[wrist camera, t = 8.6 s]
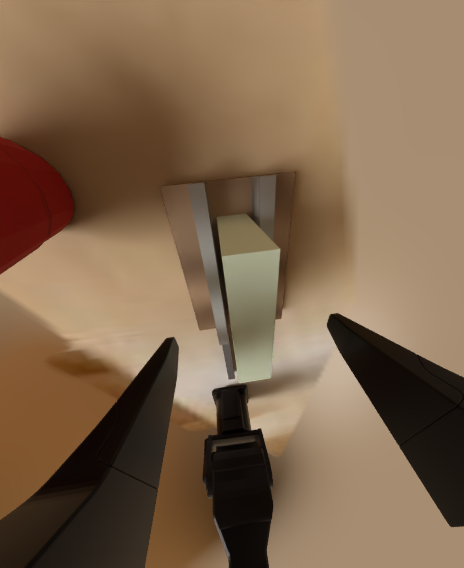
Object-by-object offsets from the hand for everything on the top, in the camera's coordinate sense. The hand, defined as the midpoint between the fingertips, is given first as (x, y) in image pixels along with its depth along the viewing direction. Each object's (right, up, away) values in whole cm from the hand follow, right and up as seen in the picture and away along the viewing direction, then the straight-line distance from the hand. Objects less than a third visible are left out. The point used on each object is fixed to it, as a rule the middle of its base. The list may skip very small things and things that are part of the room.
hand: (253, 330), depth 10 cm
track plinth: (-1, +5, +8) cm, 9 cm away
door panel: (-1, +4, +7) cm, 8 cm away
